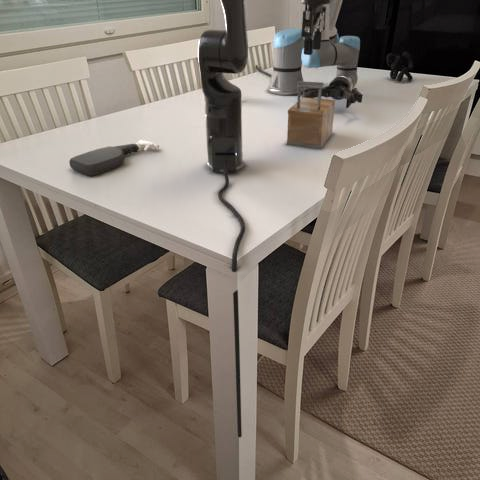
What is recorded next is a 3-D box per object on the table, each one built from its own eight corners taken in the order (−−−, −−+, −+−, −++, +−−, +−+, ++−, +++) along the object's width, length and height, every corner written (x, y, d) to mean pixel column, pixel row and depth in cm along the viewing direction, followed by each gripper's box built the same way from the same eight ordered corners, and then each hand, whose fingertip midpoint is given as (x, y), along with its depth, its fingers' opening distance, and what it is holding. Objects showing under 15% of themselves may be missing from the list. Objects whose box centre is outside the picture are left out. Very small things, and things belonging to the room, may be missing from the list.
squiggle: (400, 92, 202) (376, 71, 205) (417, 76, 202) (392, 56, 205) (405, 81, 191) (380, 59, 194) (423, 64, 191) (397, 42, 194)
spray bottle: (67, 168, 120) (139, 144, 136) (91, 178, 114) (163, 151, 130) (65, 157, 118) (137, 134, 134) (89, 167, 112) (162, 142, 128)
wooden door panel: (322, 117, 124) (325, 86, 120) (287, 113, 128) (288, 83, 123) (334, 103, 136) (337, 74, 131) (302, 100, 139) (303, 72, 135)
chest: (320, 148, 129) (323, 117, 125) (286, 144, 133) (288, 113, 128) (331, 133, 141) (334, 103, 136) (300, 129, 144) (302, 100, 139)
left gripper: (309, -19, 118) (306, 47, 127) (293, -17, 107) (290, 55, 116) (338, -19, 116) (332, 48, 124) (324, -17, 105) (319, 57, 113)
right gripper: (373, 100, 160) (363, 116, 144) (306, 94, 169) (289, 109, 152) (376, 78, 156) (367, 93, 140) (307, 74, 165) (290, 87, 148)
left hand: (312, 51), depth 120 cm, fingers open, 8 cm apart
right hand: (326, 101), depth 146 cm, fingers open, 13 cm apart
